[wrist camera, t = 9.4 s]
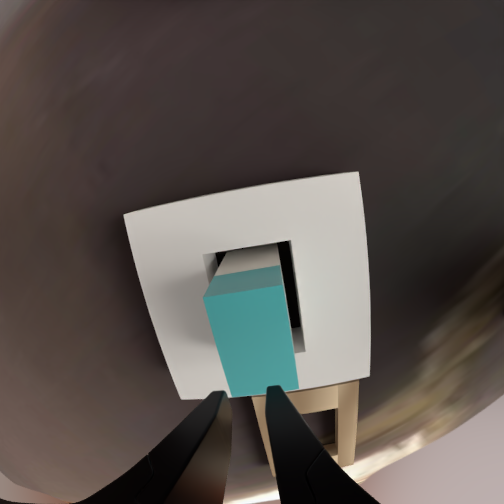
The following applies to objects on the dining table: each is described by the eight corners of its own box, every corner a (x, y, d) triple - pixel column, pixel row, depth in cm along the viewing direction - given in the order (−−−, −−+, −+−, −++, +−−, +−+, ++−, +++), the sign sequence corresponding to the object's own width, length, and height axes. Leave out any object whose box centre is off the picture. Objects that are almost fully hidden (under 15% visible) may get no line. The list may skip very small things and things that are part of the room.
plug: (276, 243, 17) (282, 284, 11) (289, 318, 19) (299, 389, 12) (226, 251, 18) (202, 297, 11) (243, 325, 19) (232, 397, 12)
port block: (343, 172, 16) (358, 171, 13) (357, 351, 19) (369, 376, 16) (145, 208, 17) (123, 214, 14) (191, 373, 20) (181, 399, 17)
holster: (353, 368, 19) (358, 380, 18) (350, 453, 22) (353, 464, 20) (252, 384, 20) (251, 397, 19) (273, 464, 23) (273, 476, 21)
